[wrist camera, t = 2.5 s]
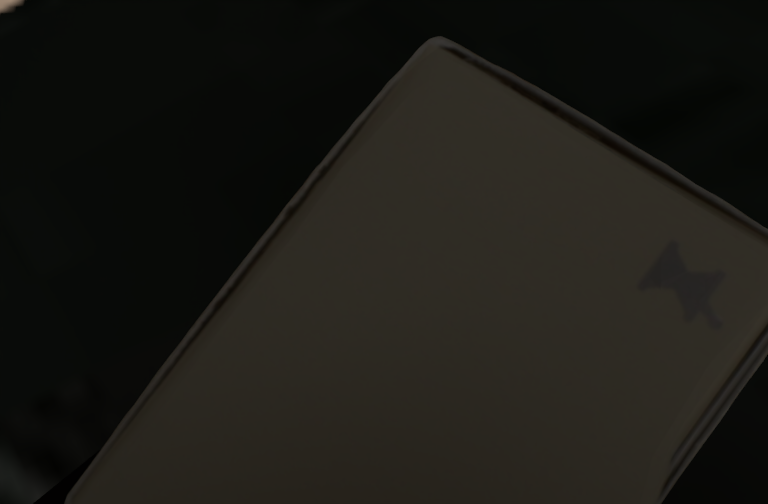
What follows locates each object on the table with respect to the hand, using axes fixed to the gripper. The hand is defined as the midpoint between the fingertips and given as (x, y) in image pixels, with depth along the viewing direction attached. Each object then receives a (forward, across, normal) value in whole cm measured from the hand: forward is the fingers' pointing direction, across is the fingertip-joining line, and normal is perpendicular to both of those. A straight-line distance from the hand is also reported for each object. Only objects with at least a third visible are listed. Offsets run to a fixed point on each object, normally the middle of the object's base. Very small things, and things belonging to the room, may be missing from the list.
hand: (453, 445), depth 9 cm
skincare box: (+7, 0, +6) cm, 9 cm away
